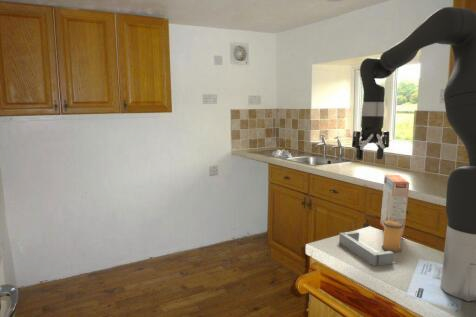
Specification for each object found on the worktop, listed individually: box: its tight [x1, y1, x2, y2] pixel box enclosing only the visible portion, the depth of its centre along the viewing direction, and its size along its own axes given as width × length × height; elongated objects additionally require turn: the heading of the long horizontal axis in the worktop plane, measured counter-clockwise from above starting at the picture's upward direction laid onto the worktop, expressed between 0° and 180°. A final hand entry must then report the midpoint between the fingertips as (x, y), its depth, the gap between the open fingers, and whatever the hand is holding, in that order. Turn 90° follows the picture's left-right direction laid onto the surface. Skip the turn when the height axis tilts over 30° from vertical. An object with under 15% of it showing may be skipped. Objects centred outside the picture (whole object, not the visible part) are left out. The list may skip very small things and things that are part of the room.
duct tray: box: [338, 230, 397, 267], centre depth 112 cm, size 19×8×4 cm, turn 16°
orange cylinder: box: [381, 221, 403, 254], centre depth 115 cm, size 6×6×9 cm
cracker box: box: [379, 174, 410, 238], centre depth 132 cm, size 14×6×21 cm, turn 168°
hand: (369, 159), depth 126 cm, fingers open, 8 cm apart
